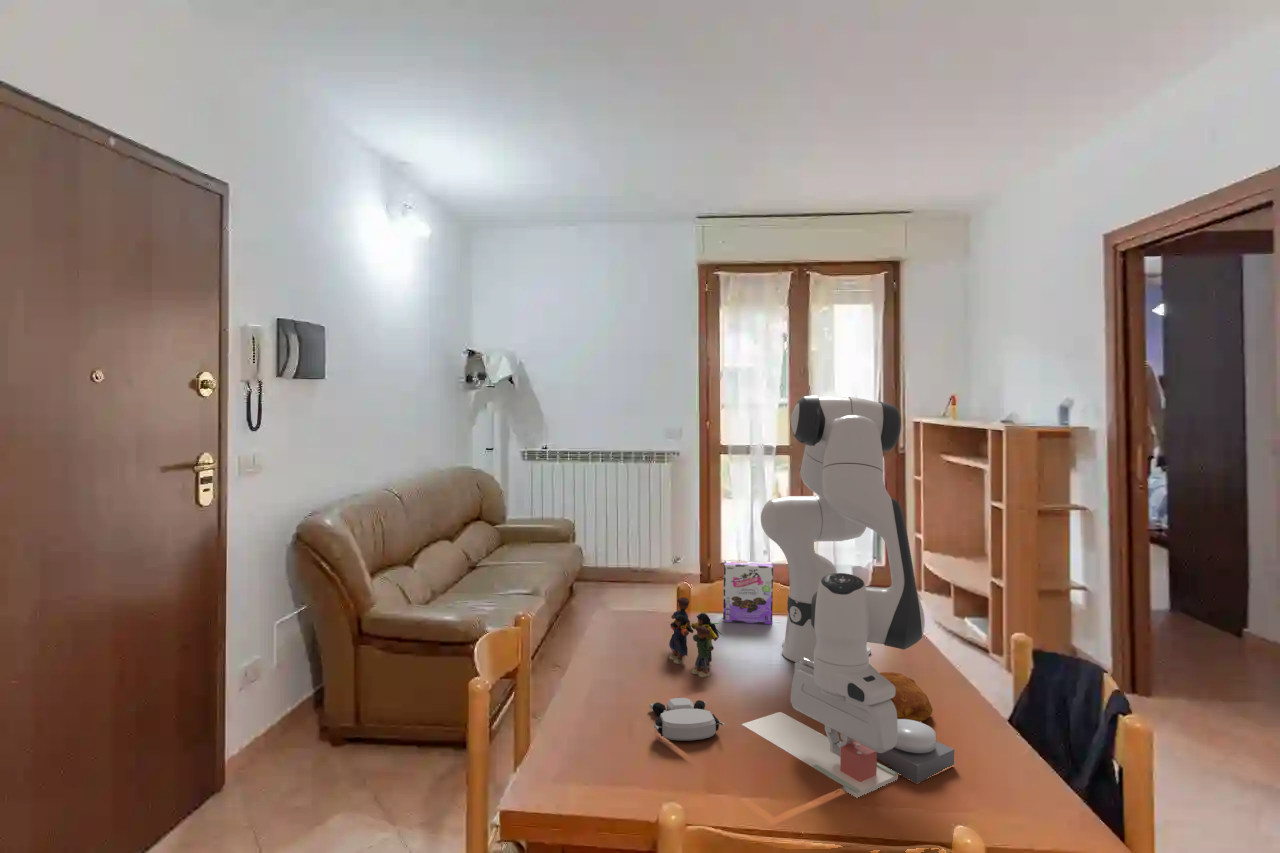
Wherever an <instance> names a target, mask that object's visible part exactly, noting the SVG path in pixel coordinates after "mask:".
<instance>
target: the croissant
mask: <svg viewBox="0 0 1280 853" xmlns="http://www.w3.org/2000/svg"><path fill="white" fill-rule="evenodd" d="M879 673H880V674H881V675H882V676H883V677H885V678H886V679H887V680H888V681H890V682H891V683H892V684H893V685H894V686H895V696H894V697H893V698H891V699H890V700H891V701H892V702H893V703H894V705H895V708H896V712H897V719H908V720H914V721H918V722H920V721H922V722H924V721H926V720H927V719H929V718H930V717H931V716H932V713H933V711H934V710H933V707H932V704H931V702H930V700H929V697H928V696H927V694H926V693H925V692H924V690H922V689H921V687H920V686H919V685H917V683H916V681H915V680H913V679H912V678H911V677H907V676H906V675H904V674H903V673H900V672H894V671H893V672H892V671H889V672H888V671H885V672H884V671H883V672H879Z"/></svg>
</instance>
